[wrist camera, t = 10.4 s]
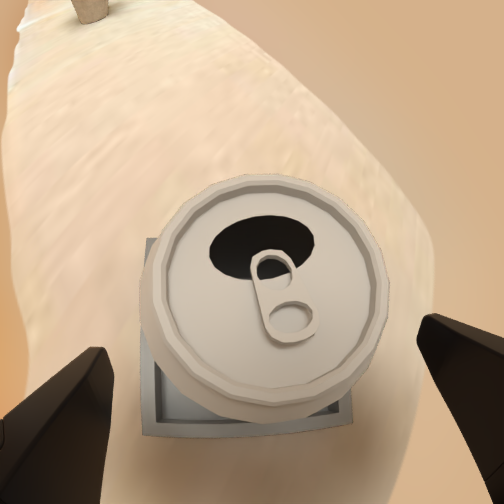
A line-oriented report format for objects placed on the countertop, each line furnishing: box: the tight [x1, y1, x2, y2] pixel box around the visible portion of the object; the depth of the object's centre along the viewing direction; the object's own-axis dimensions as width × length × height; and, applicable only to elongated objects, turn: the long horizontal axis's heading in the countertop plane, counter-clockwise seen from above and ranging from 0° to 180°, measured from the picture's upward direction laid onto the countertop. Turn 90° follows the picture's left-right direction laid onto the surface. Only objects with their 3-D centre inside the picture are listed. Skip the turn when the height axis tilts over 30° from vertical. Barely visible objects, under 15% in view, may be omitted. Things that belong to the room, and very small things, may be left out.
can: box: [139, 174, 390, 424], centre depth 13 cm, size 8×8×12 cm
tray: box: [140, 238, 353, 438], centre depth 18 cm, size 12×12×2 cm
